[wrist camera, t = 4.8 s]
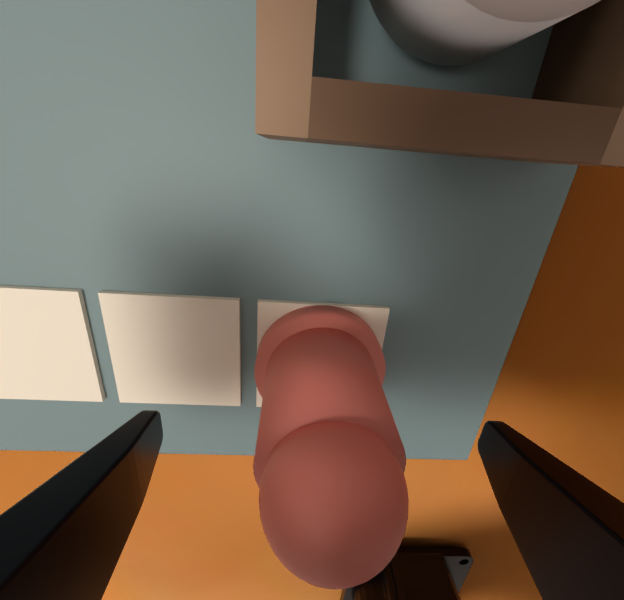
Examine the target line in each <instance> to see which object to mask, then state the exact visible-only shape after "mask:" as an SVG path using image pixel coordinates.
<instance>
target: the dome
mask: <svg viewBox="0 0 624 600" xmlns="http://www.w3.org/2000/svg"><path fill="white" fill-rule="evenodd" d="M369 1H370V3H371V6H372V9H373V11H374V13H375V15H376V16H377V18H378V20H379V22H380V24H381V25H382V27H383V28H384V30H385V31H386V32H387V34H388V35H389V36H390V37H391V38H392V39H393V40H394V42H395V43H396V44H397V45H398V46H400V47H401V48H402V49H403V50H405V51H406V52H407V53H409V54H411V55H412V56H414V57H416V58H418V59H420V60H423V61H425V62H428V63H431V64H437V65H442V66H457V65H464V64H469V63H473V62H476V61H479V60H482V59H484V58H486V57H488V56H491V55H493V54H495V53H497V52H499V51H501V50H503V49H505V48H507V47H509V46H511V45H513V44H515V43H517V42H519V41H521V40H523V39H525V38H527V37H529V36H531V35H533V34H535V33H537V32H539V31H542V30H544V29H546V28H548V27H550V26H552V25H554V24H556V23H558V22H560V21H562V20H564V19H566V18H568V17H570V16H572V15H574V14H576V13H578V12H580V11H582V10H584V9H586V8H588V7H590V6H592V5H594V4H596V3H597V2H599V1H601V0H369Z"/></svg>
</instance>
